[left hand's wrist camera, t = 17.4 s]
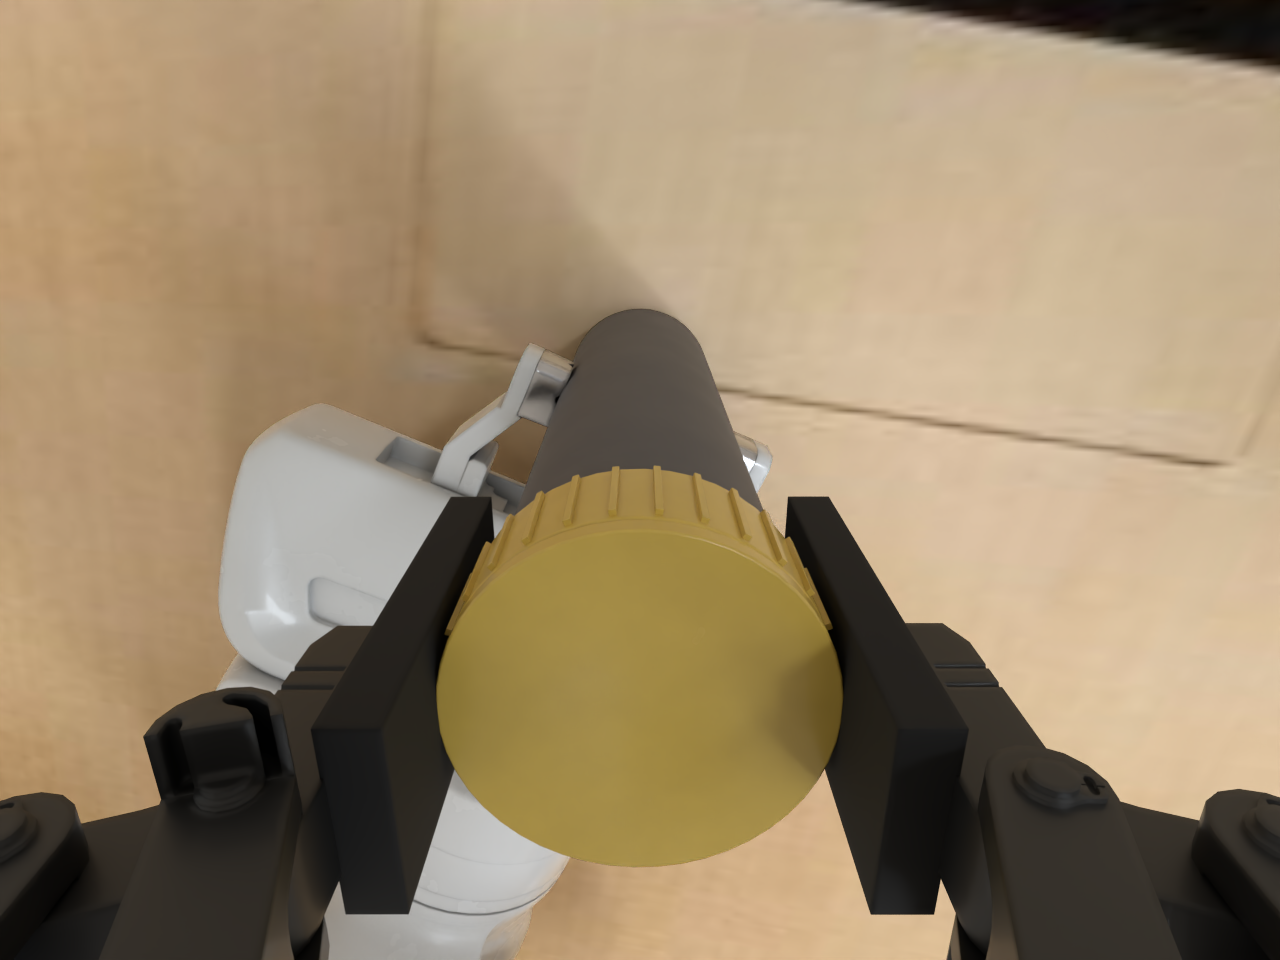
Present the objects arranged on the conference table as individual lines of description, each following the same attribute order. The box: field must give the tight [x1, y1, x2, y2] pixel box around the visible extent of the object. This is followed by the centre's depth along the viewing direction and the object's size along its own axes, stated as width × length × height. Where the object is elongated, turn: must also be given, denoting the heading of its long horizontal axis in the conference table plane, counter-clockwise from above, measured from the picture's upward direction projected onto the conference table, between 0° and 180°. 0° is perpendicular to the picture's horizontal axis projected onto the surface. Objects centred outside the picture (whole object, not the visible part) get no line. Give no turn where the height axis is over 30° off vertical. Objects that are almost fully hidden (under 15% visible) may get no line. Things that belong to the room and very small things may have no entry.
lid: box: [436, 466, 843, 867], centre depth 11 cm, size 6×6×2 cm
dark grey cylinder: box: [514, 309, 763, 516], centre depth 20 cm, size 5×5×19 cm
